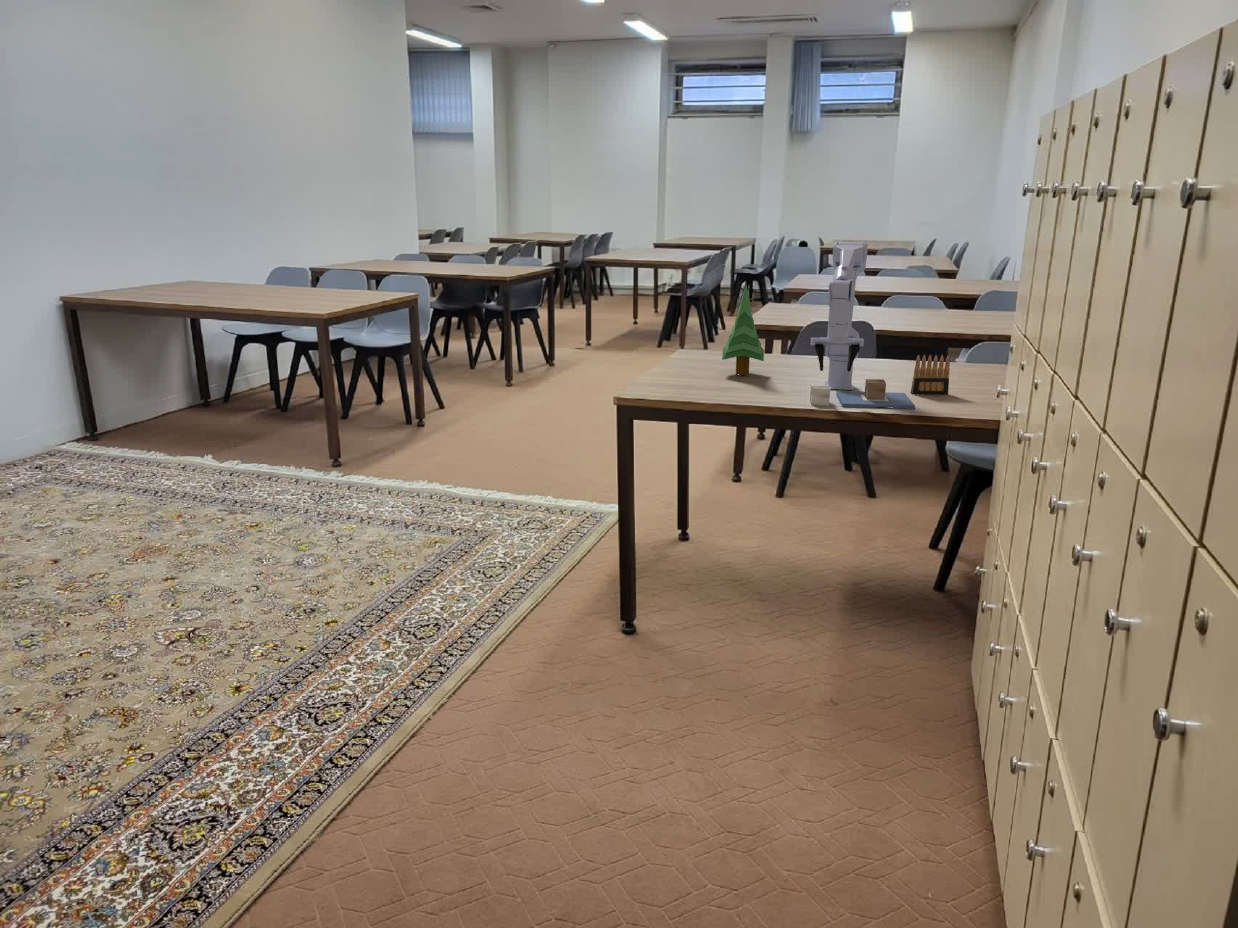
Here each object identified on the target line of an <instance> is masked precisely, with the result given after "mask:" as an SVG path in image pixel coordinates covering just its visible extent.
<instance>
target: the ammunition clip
mask: <svg viewBox="0 0 1238 928" xmlns="http://www.w3.org/2000/svg"><path fill="white" fill-rule="evenodd" d="M939 358H940V359H939ZM939 358H938V355H937V354H935V356H934V359H933V358H932V354H929V356H928V359H927V357H926V354H923V357H922V360H921V357H920V354H918V355H917V357H916V360H915V365H914V370H913V377H912V383H911V389H910V394H911V395H913V394H919V396H929V395H930V396H933V395H935V396H948V395H949V387H950V386H949V383H950V378H949V377H950V369H951V368H950V365H951V364H950V360H951V358H950V355H949V354H947V356H946V358H944V354H941V356H940V357H939ZM932 359H933V360H932ZM938 359H939V360H938ZM944 360H945V361H944ZM944 362H945V363H944ZM938 363H939V364H938ZM921 394H922V395H921ZM923 394H924V395H923Z"/></svg>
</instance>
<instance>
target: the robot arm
mask: <svg viewBox="0 0 1238 928" xmlns="http://www.w3.org/2000/svg"><path fill="white" fill-rule="evenodd" d="M832 248H833V249H832V263H833V267H834V274H833V277H832V281H829V285H828V294H827V295H828V296H827V297H828V307H829V309H828V322H827V323H828V324H827V335H826V337H825V336H824V337H810V345H811V346H813V347H814V350H815V351H816V354H817V359H818V363H819V371H821V372H824V355H825V356H826V358H828V360H829V363H828V375H827V376H828V377H827V381H824V385H829V387H830V390H841V391H845V390H846V391H847V390H848V391H851V390H852V391H854V390H855V387H854V386H853V384H852V381H853V370H854V361H855V359H857V358H858V357H859V351H860V348H861V347H864V346H865V345H864V343H865V340H864V338H860V334H859V332H858V331H857V330H856V329H854V328H853V327H852V324H853V316H854V315H853V312H854V305H855V304H854V303H855V302H854V301H855V293H856V283H857V279H858V276H859V274H860V273H862V272H864V271H865V268H866V267H867V259H868V258H867V257H868V249H869V248H868V242H866V241H864V242H855V241H854V242H853V241H851V242H850V241H849V242H847V241H835V242H834V243H833V247H832Z"/></svg>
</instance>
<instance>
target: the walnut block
mask: <svg viewBox="0 0 1238 928" xmlns="http://www.w3.org/2000/svg"><path fill="white" fill-rule="evenodd" d="M886 389H887V383H886V381H885V379H878V378H877V379H876V378H875V379H874V378H866V379H865V386H864V392H865V395H864V396H865V397H866V399H867V400H885V392H887V390H886Z"/></svg>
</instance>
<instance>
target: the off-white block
mask: <svg viewBox="0 0 1238 928" xmlns="http://www.w3.org/2000/svg"><path fill="white" fill-rule="evenodd" d="M809 395H810V397H809V403H810V405H811V406H830V399H831V398H830V397H831V389H830V387H829V385H826V384H810V394H809Z"/></svg>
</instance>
